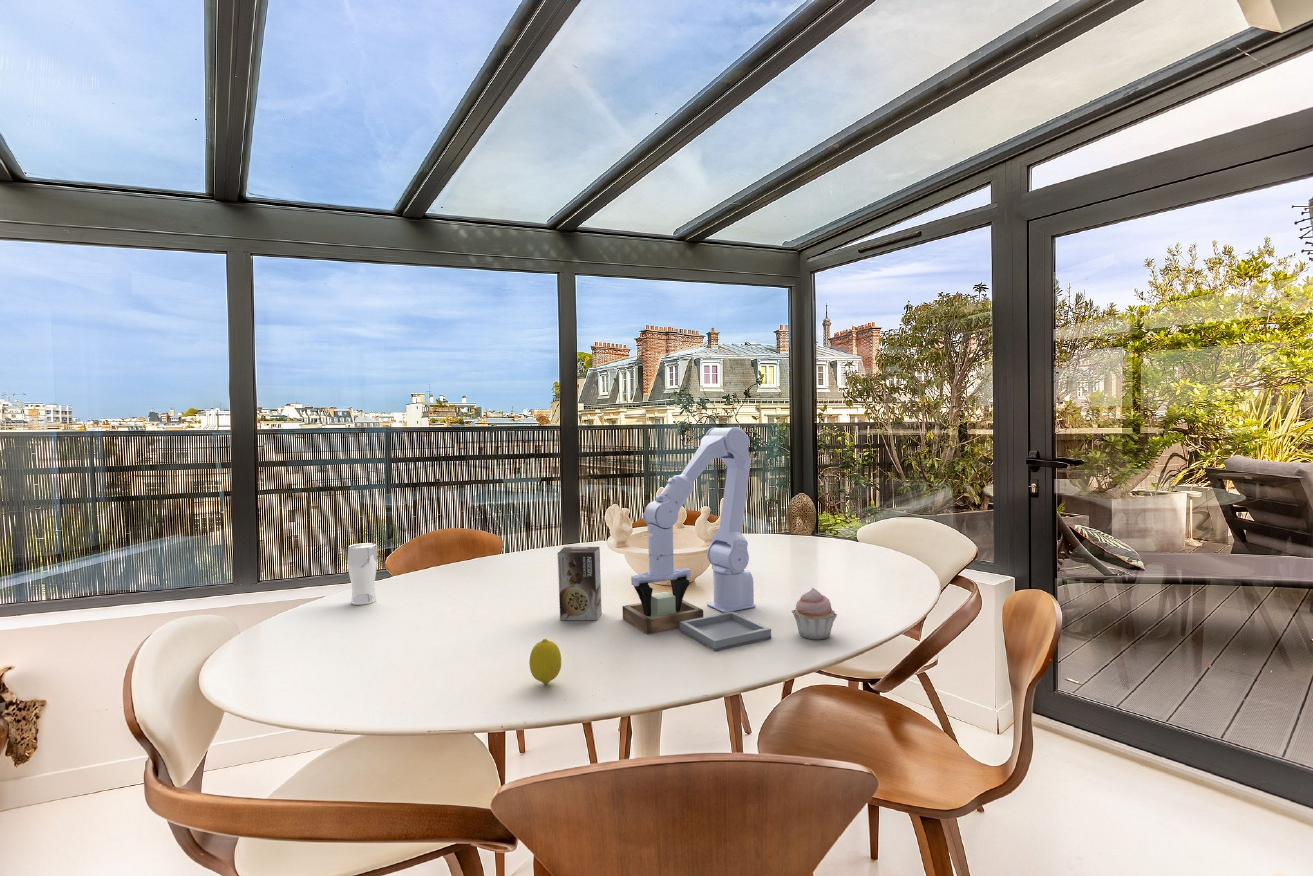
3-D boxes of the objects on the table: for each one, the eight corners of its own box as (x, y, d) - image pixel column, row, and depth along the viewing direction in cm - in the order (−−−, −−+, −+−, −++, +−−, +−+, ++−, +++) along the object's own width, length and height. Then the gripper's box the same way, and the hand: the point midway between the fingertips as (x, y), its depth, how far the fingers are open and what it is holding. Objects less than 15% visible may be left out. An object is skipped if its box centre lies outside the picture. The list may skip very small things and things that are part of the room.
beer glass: (370, 605, 159) (368, 547, 159) (343, 606, 159) (341, 548, 159) (382, 598, 166) (381, 542, 166) (357, 598, 166) (355, 543, 166)
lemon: (531, 678, 111) (530, 634, 111) (563, 677, 111) (561, 633, 111) (528, 692, 105) (527, 645, 105) (560, 690, 106) (559, 643, 106)
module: (666, 616, 145) (665, 591, 145) (675, 622, 141) (675, 596, 141) (649, 620, 143) (648, 594, 143) (658, 625, 139) (657, 599, 139)
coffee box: (602, 612, 149) (600, 546, 149) (597, 621, 143) (595, 551, 142) (565, 612, 150) (563, 546, 150) (558, 620, 144) (557, 551, 143)
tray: (732, 620, 141) (732, 611, 141) (771, 638, 129) (771, 628, 129) (679, 630, 135) (679, 621, 135) (714, 651, 122) (714, 641, 122)
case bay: (676, 609, 151) (676, 596, 151) (703, 623, 140) (703, 609, 140) (622, 618, 144) (622, 606, 144) (646, 634, 133) (646, 620, 133)
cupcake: (825, 626, 136) (824, 581, 135) (845, 640, 126) (844, 592, 126) (784, 629, 134) (784, 583, 134) (802, 644, 125) (801, 595, 125)
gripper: (640, 560, 134) (641, 622, 135) (697, 553, 141) (698, 612, 142) (626, 555, 141) (628, 614, 141) (681, 548, 147) (682, 604, 148)
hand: (662, 612), depth 142 cm, fingers open, 7 cm apart
